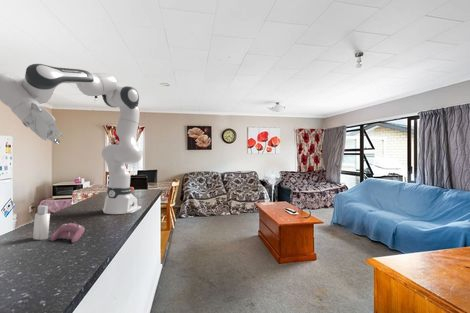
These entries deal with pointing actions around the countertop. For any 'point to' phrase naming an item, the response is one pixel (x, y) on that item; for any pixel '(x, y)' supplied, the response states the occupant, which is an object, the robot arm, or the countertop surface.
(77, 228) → the video game controller
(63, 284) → the countertop surface
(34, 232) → the white bottle
